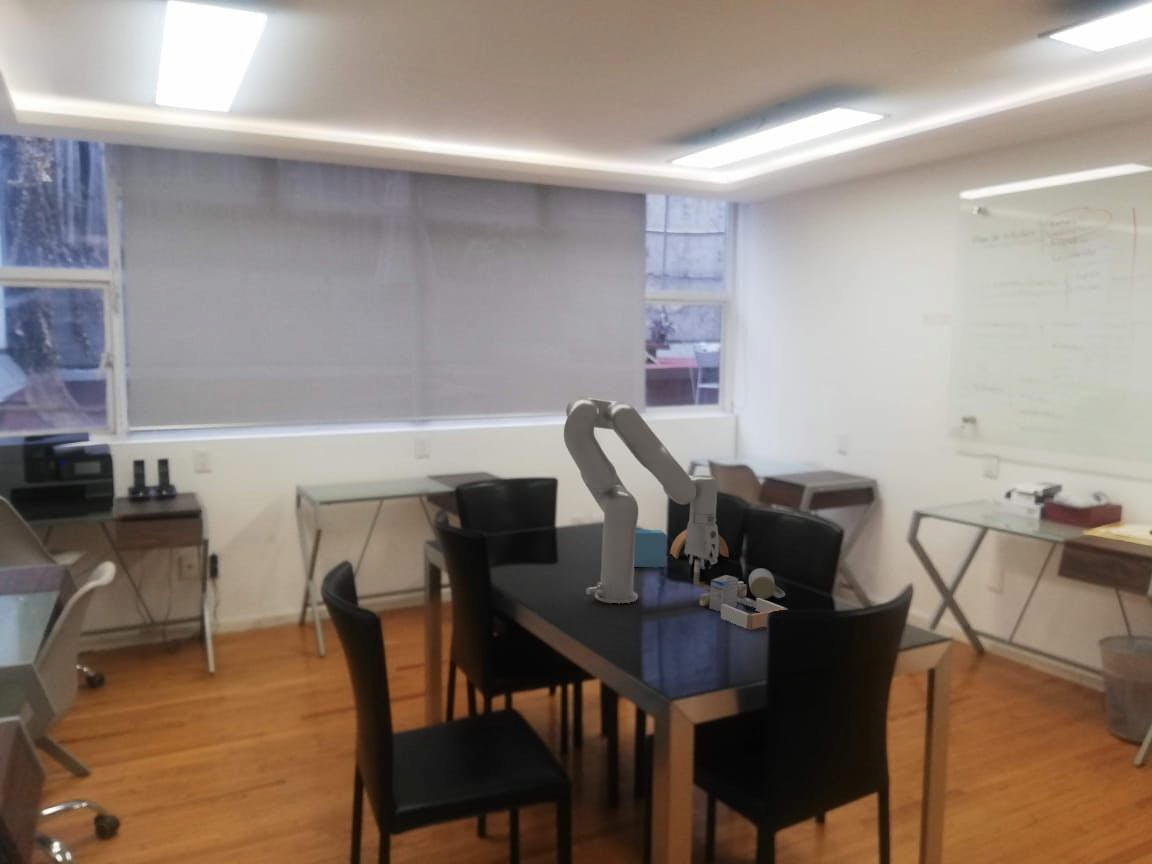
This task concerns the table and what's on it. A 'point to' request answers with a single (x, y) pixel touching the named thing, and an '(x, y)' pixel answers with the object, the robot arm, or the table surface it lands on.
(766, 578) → the ceramic mug
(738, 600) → the guide rail
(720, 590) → the medicine box
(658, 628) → the table surface
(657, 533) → the data package
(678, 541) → the arch
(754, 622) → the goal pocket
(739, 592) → the crank handle
